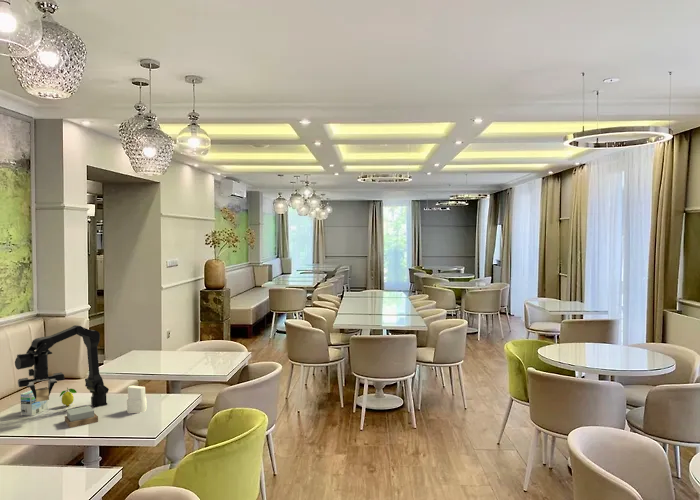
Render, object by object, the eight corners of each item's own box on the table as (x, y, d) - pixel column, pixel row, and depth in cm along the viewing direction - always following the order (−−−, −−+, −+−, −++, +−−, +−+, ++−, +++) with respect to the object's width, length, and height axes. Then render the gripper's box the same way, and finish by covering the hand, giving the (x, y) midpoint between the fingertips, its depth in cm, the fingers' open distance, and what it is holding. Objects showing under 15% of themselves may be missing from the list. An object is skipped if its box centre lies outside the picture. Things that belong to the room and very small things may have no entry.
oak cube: (47, 397, 251) (46, 387, 251) (49, 399, 247) (48, 389, 247) (35, 399, 247) (34, 389, 247) (36, 401, 244) (36, 391, 243)
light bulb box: (31, 416, 256) (31, 394, 255) (20, 415, 257) (19, 393, 257) (48, 409, 266) (47, 388, 266) (37, 408, 267) (36, 387, 267)
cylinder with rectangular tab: (123, 412, 258) (122, 388, 257) (137, 407, 266) (136, 383, 266) (137, 414, 254) (136, 390, 254) (150, 408, 263) (149, 385, 262)
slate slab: (89, 411, 253) (89, 405, 253) (94, 416, 245) (94, 410, 245) (66, 416, 247) (66, 410, 247) (70, 421, 239) (70, 415, 239)
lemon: (77, 405, 271) (76, 386, 271) (66, 408, 266) (65, 389, 266) (70, 403, 274) (69, 384, 274) (59, 406, 270) (58, 387, 269)
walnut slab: (92, 416, 254) (92, 410, 254) (98, 423, 245) (97, 416, 245) (64, 422, 247) (64, 416, 247) (69, 429, 238) (69, 422, 238)
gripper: (59, 359, 259) (60, 390, 259) (15, 365, 247) (16, 397, 248) (64, 362, 250) (65, 394, 251) (18, 369, 239) (19, 403, 239)
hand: (42, 397), depth 247 cm, fingers closed on oak cube, 5 cm apart
